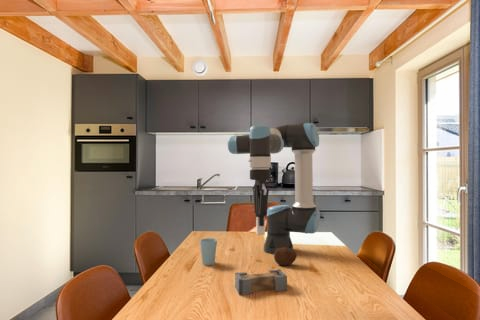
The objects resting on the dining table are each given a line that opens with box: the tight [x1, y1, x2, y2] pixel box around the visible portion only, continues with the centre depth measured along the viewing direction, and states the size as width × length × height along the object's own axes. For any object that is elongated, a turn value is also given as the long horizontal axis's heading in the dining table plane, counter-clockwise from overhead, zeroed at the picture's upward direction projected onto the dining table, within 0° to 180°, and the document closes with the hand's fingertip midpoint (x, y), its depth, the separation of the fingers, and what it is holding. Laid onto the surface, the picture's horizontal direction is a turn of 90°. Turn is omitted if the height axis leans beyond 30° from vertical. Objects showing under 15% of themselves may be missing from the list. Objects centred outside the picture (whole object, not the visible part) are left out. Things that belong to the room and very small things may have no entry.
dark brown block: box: [240, 272, 279, 293], centre depth 111 cm, size 14×4×5 cm, turn 103°
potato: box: [273, 247, 298, 266], centre depth 138 cm, size 7×10×8 cm
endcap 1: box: [234, 271, 252, 296], centre depth 110 cm, size 4×7×5 cm, turn 12°
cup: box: [199, 237, 218, 266], centre depth 141 cm, size 8×8×10 cm
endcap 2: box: [268, 269, 288, 292], centre depth 113 cm, size 4×7×5 cm, turn 12°
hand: (260, 234), depth 112 cm, fingers closed
